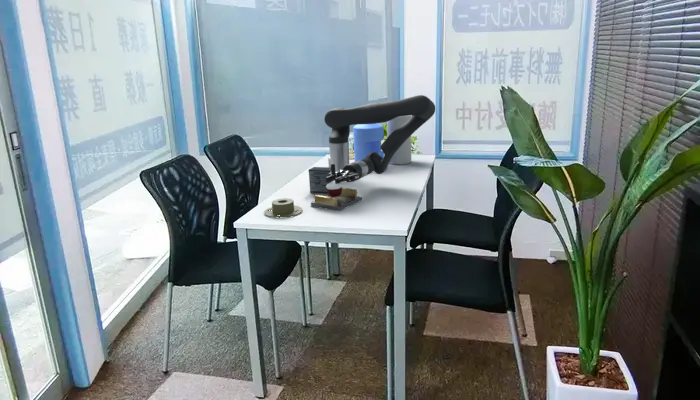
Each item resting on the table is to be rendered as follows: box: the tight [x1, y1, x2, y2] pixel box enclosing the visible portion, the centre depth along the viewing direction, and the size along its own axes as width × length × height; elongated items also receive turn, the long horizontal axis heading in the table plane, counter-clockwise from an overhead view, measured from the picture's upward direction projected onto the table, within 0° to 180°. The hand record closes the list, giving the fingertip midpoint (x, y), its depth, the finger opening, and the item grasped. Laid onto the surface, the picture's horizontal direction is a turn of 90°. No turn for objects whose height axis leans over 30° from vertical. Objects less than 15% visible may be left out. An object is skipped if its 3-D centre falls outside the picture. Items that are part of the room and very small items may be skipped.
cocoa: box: [326, 164, 343, 197], centre depth 216 cm, size 10×6×12 cm, turn 157°
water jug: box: [352, 123, 385, 162], centre depth 276 cm, size 16×16×28 cm
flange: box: [263, 198, 304, 219], centre depth 209 cm, size 5×15×15 cm
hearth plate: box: [310, 186, 363, 211], centre depth 217 cm, size 14×16×4 cm
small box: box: [308, 166, 332, 194], centre depth 235 cm, size 11×6×10 cm, turn 71°
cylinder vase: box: [386, 115, 412, 166], centre depth 282 cm, size 12×12×25 cm
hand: (331, 180), depth 213 cm, fingers closed on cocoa, 4 cm apart
